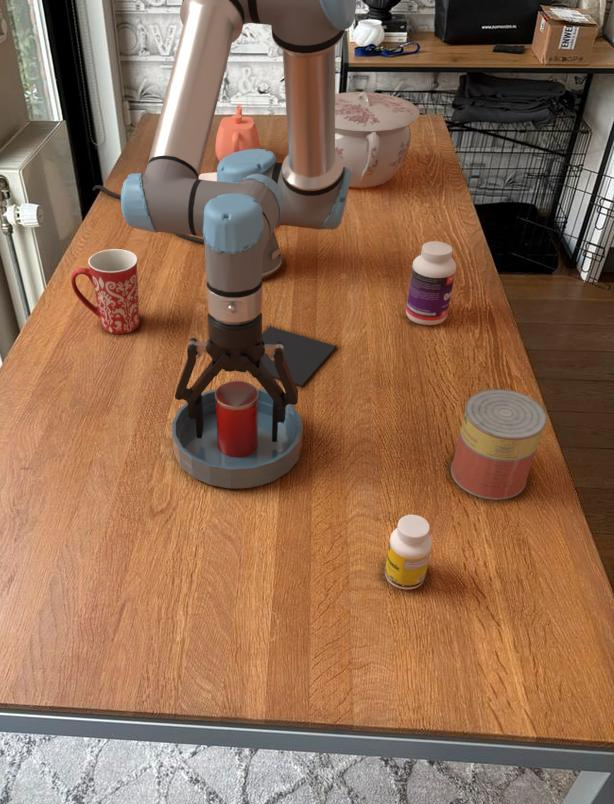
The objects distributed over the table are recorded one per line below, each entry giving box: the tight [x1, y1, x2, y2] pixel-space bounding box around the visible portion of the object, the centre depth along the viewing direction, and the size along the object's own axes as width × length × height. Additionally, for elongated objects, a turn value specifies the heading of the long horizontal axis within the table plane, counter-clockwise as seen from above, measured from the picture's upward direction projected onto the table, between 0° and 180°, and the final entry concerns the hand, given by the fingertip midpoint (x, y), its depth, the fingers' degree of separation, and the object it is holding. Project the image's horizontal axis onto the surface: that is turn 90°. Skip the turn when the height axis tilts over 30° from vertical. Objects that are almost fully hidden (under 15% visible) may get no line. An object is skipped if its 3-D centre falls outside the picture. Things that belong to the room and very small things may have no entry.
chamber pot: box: [335, 91, 421, 189], centre depth 195 cm, size 28×28×21 cm
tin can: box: [215, 380, 259, 457], centre depth 120 cm, size 7×7×10 cm
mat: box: [261, 326, 337, 388], centre depth 142 cm, size 14×14×1 cm
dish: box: [171, 387, 304, 490], centre depth 122 cm, size 20×20×4 cm
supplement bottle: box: [384, 514, 433, 590], centre depth 101 cm, size 5×5×10 cm
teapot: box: [214, 104, 261, 162], centre depth 206 cm, size 20×12×12 cm, turn 178°
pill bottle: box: [405, 240, 457, 326], centre depth 147 cm, size 8×8×14 cm
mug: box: [70, 248, 140, 335], centre depth 146 cm, size 13×9×14 cm
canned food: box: [450, 388, 548, 501], centre depth 115 cm, size 11×11×12 cm
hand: (237, 434), depth 122 cm, fingers open, 11 cm apart
